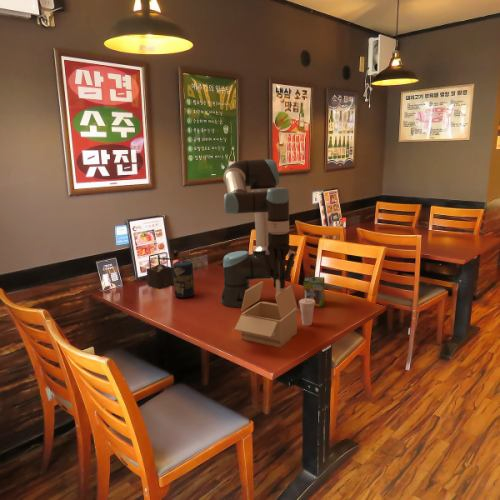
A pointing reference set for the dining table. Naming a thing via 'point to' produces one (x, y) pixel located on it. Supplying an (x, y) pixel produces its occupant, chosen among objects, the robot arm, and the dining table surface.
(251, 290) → the flap
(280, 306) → the flap
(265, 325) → the flap
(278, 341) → the carton
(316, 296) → the chalk box
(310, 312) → the smoothie
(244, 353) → the dining table surface
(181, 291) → the canister
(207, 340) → the dining table surface
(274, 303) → the flap
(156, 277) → the dark condiment caddy
